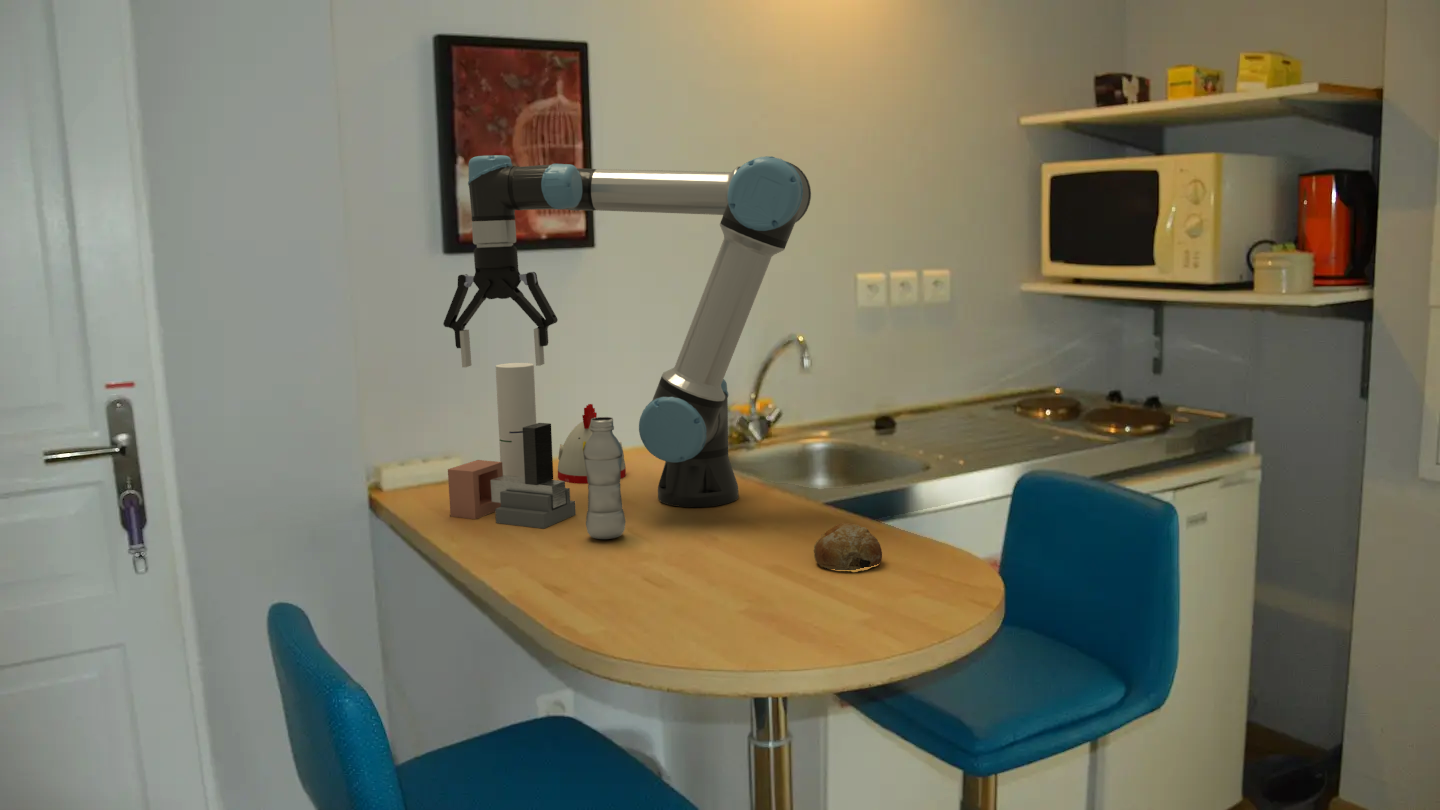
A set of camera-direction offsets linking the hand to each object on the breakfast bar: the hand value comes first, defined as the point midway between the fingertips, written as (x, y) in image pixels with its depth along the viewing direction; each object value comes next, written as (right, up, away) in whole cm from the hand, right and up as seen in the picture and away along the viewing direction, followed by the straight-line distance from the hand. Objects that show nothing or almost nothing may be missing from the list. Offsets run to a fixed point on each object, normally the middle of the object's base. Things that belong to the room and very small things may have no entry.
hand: (503, 365), depth 201 cm
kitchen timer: (+12, -22, +31) cm, 40 cm away
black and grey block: (+5, -24, -2) cm, 25 cm away
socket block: (-5, -26, +3) cm, 27 cm away
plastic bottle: (+20, -29, -15) cm, 39 cm away
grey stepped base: (+6, -27, -2) cm, 28 cm away
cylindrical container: (0, -24, +17) cm, 30 cm away
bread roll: (+58, -31, -31) cm, 73 cm away
